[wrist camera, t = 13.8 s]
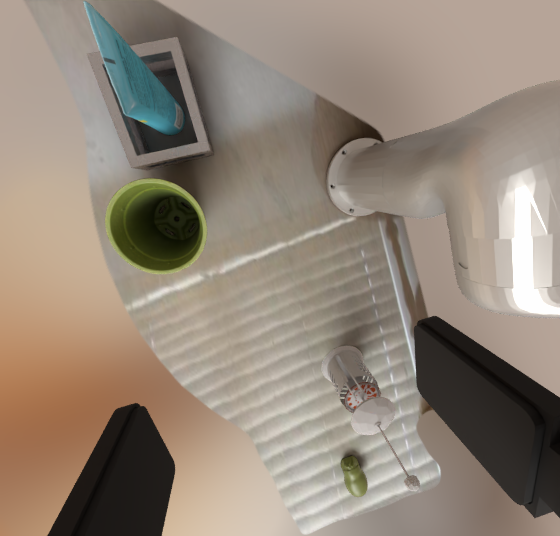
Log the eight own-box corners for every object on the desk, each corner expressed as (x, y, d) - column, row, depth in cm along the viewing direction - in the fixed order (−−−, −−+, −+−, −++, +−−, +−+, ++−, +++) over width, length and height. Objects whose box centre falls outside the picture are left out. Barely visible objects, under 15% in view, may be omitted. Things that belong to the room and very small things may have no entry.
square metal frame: (187, 61, 36) (177, 36, 30) (214, 154, 41) (209, 150, 35) (112, 76, 36) (86, 53, 30) (147, 170, 40) (131, 167, 34)
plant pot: (216, 185, 42) (209, 185, 32) (212, 255, 46) (204, 277, 35) (137, 174, 40) (101, 171, 29) (138, 249, 43) (107, 270, 33)
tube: (140, 94, 37) (48, 8, 19) (173, 84, 37) (114, -9, 19) (163, 149, 39) (101, 120, 21) (194, 139, 40) (159, 104, 22)
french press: (334, 389, 59) (398, 525, 36) (309, 356, 55) (362, 484, 32) (370, 366, 59) (459, 488, 35) (348, 331, 55) (431, 442, 31)
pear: (352, 505, 65) (341, 473, 63) (345, 484, 70) (334, 454, 68) (373, 497, 65) (362, 465, 63) (364, 477, 70) (354, 447, 68)
